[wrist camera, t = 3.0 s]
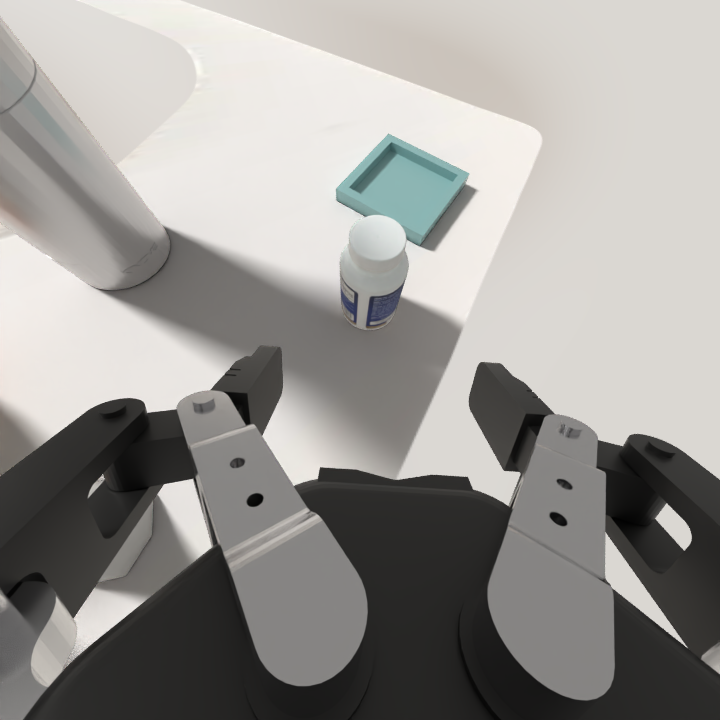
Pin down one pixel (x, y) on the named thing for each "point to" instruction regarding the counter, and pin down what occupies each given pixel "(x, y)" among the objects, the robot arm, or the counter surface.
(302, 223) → the counter surface
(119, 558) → the flask
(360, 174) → the tray
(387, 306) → the pill bottle
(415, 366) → the counter surface
